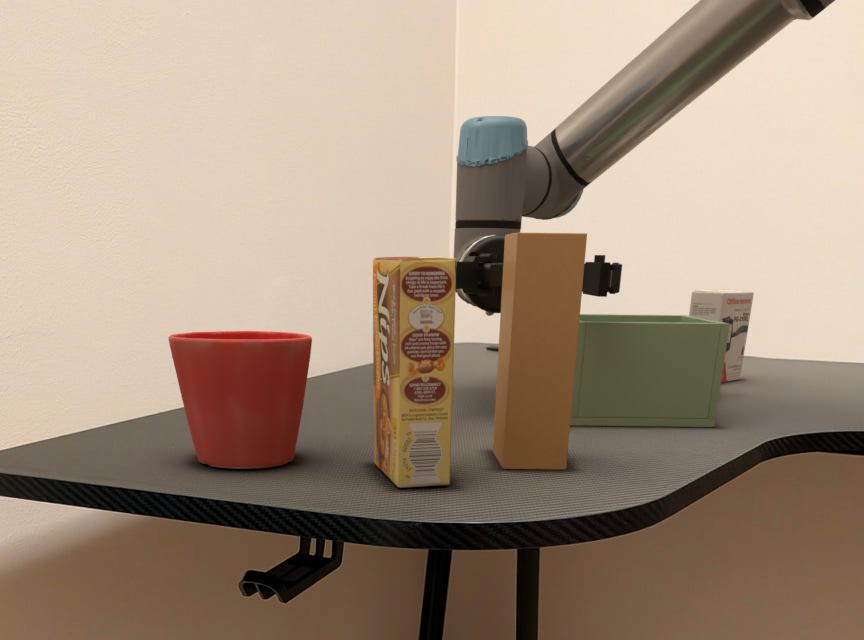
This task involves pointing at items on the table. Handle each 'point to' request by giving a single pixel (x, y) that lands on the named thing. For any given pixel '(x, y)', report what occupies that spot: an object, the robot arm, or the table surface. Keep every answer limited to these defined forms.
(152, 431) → the table surface
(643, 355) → the storage bin
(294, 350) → the flower pot
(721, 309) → the ink box
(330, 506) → the table surface
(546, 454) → the block
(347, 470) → the table surface
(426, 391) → the candy box
